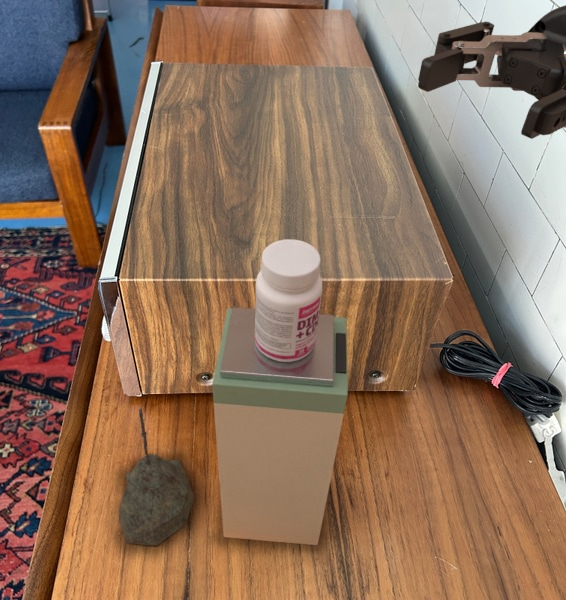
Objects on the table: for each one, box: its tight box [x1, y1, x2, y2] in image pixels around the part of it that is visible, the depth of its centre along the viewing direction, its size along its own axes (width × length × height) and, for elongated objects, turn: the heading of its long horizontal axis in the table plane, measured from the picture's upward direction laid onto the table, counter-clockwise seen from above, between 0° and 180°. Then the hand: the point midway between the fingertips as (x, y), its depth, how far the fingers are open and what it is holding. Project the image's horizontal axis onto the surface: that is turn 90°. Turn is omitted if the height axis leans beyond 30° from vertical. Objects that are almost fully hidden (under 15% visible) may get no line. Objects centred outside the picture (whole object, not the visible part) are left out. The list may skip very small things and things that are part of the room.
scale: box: [211, 306, 349, 415], centre depth 45 cm, size 10×8×3 cm
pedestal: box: [213, 402, 345, 546], centre depth 54 cm, size 10×8×24 cm
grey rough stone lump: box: [118, 408, 195, 547], centre depth 58 cm, size 10×8×12 cm
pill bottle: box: [254, 238, 323, 362], centre depth 41 cm, size 5×5×8 cm
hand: (473, 98), depth 37 cm, fingers open, 8 cm apart
